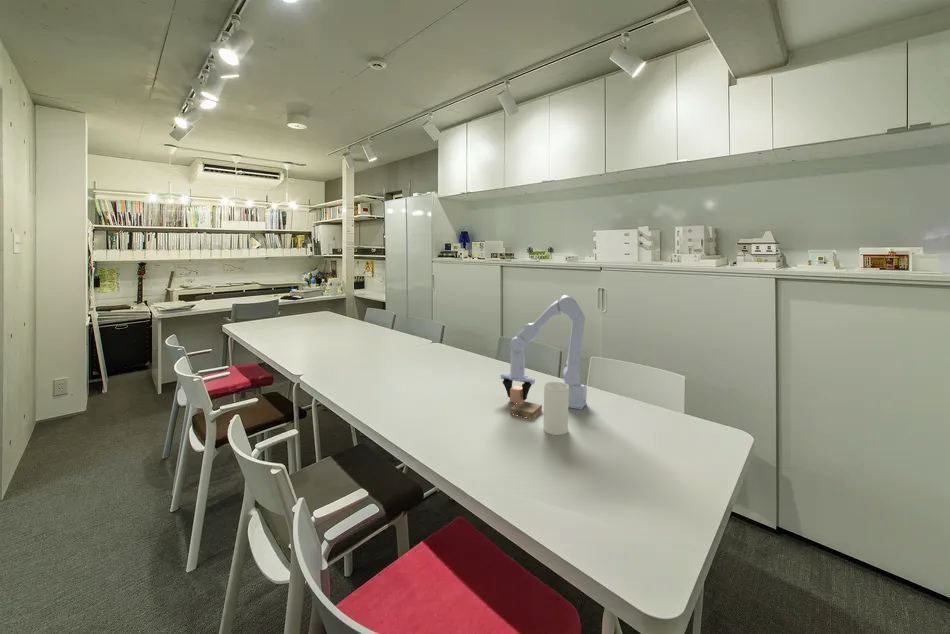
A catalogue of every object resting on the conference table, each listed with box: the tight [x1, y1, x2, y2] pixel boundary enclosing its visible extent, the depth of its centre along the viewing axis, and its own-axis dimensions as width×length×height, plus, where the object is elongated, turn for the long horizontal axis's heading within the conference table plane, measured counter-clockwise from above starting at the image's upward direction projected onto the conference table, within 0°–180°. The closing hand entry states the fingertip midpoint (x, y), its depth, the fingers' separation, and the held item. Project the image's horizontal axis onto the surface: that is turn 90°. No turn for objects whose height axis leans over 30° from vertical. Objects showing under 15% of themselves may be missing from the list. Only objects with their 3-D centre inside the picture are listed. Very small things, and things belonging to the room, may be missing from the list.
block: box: [509, 385, 526, 404], centre depth 166 cm, size 4×4×6 cm
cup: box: [543, 381, 569, 436], centre depth 139 cm, size 8×8×16 cm
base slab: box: [510, 400, 543, 420], centre depth 155 cm, size 9×9×3 cm
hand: (517, 397), depth 166 cm, fingers open, 6 cm apart
